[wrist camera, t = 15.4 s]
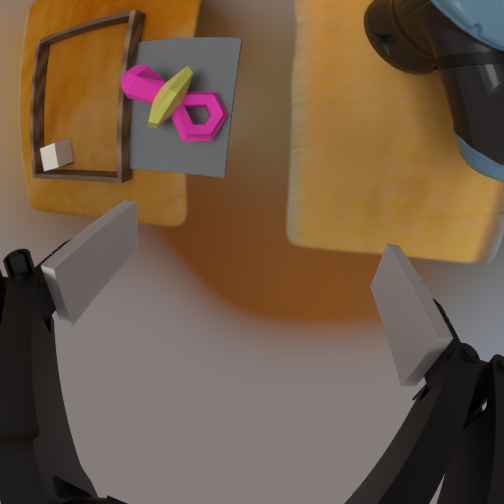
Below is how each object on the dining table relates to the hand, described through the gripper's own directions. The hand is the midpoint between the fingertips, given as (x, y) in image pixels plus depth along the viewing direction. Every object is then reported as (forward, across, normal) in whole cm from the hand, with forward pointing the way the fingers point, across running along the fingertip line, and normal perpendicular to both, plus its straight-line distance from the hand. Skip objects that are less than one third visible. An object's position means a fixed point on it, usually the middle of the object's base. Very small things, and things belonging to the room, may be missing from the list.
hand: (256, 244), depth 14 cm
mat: (+33, -17, +6) cm, 37 cm away
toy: (+32, -17, +7) cm, 37 cm away
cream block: (+33, -44, -3) cm, 55 cm away
